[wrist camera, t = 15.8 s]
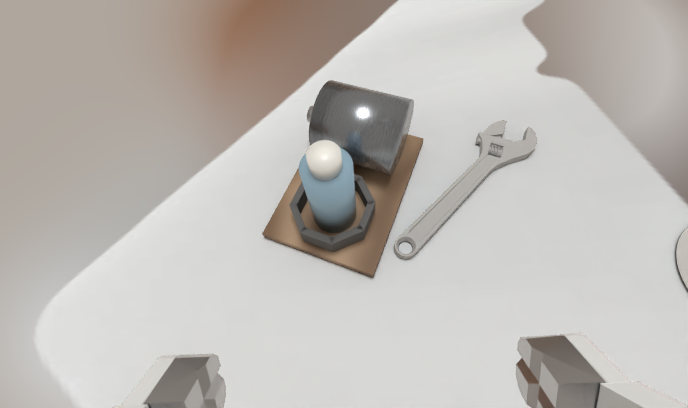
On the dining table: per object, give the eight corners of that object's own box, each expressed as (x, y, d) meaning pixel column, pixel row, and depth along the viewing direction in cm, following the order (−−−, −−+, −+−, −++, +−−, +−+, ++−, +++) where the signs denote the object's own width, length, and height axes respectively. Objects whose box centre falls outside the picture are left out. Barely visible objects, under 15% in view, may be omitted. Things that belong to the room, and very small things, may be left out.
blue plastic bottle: (362, 202, 41) (360, 140, 31) (347, 239, 39) (339, 185, 29) (324, 189, 42) (309, 125, 32) (306, 224, 40) (284, 168, 30)
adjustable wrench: (406, 266, 39) (407, 261, 37) (368, 228, 41) (368, 222, 40) (539, 146, 45) (546, 138, 43) (500, 119, 48) (504, 111, 46)
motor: (409, 134, 46) (417, 82, 38) (387, 188, 42) (392, 143, 34) (328, 113, 48) (320, 60, 40) (301, 162, 45) (287, 114, 37)
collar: (382, 193, 42) (383, 183, 39) (355, 260, 38) (354, 252, 36) (315, 172, 44) (312, 161, 42) (283, 233, 40) (278, 225, 38)
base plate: (422, 143, 46) (423, 138, 45) (373, 277, 38) (373, 275, 37) (329, 118, 49) (328, 113, 48) (264, 237, 41) (262, 233, 40)
